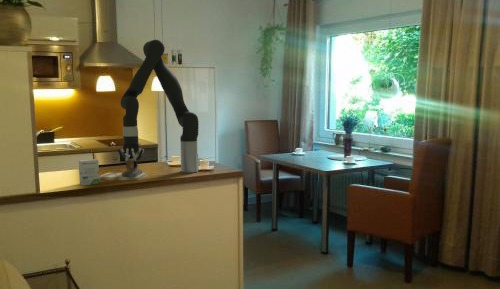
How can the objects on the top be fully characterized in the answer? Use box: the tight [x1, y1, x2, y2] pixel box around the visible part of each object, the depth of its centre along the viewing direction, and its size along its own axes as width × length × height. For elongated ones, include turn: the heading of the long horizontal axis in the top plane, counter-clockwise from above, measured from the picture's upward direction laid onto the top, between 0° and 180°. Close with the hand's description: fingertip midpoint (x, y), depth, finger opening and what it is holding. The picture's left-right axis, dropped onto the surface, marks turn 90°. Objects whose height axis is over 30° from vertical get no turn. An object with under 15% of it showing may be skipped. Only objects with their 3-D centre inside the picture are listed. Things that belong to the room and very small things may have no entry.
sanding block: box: [121, 158, 143, 177], centre depth 233 cm, size 7×11×8 cm, turn 176°
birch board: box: [99, 172, 148, 181], centre depth 234 cm, size 22×13×2 cm, turn 86°
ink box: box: [78, 159, 100, 186], centre depth 218 cm, size 8×5×12 cm, turn 119°
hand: (131, 168), depth 233 cm, fingers closed on sanding block, 3 cm apart
